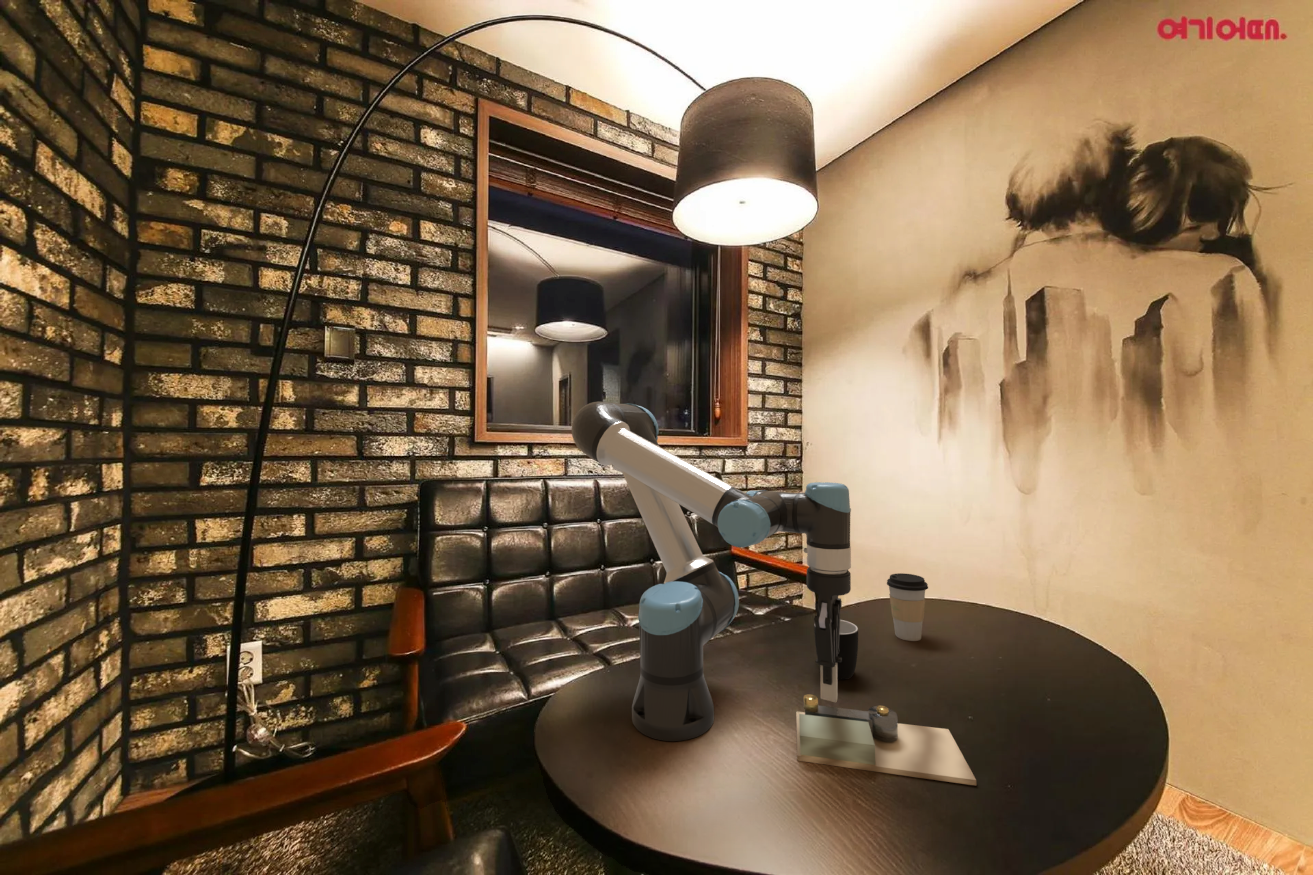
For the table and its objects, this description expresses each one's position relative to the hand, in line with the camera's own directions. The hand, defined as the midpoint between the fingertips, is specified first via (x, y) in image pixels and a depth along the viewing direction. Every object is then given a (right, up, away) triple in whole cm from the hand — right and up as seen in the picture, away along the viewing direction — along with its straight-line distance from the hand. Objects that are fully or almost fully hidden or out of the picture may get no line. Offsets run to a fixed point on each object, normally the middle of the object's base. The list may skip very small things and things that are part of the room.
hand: (829, 698), depth 89 cm
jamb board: (+5, -4, -8) cm, 10 cm away
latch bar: (+2, -3, -5) cm, 6 cm away
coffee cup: (+33, -4, +36) cm, 49 cm away
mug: (+8, -4, +19) cm, 21 cm away
